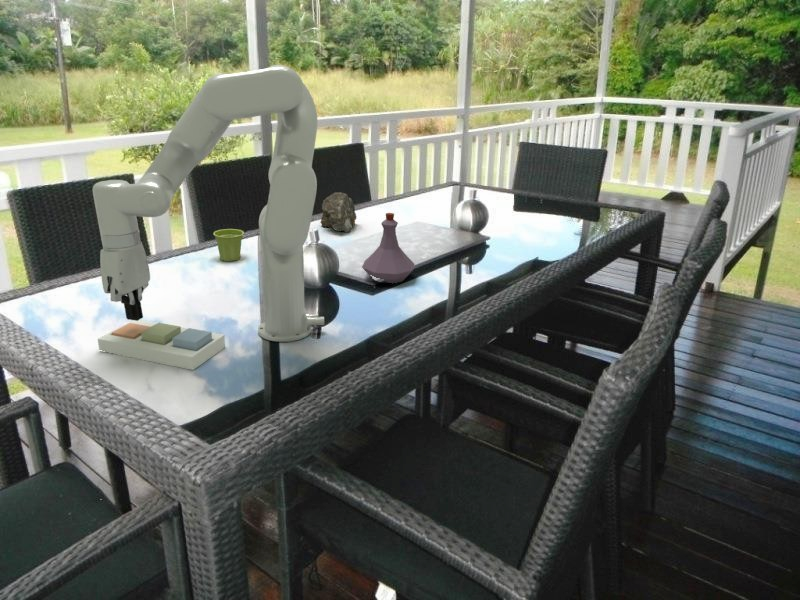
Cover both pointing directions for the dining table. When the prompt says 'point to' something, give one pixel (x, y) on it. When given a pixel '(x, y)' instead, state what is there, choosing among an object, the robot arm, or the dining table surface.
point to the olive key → (160, 333)
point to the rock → (338, 212)
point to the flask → (389, 256)
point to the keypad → (160, 349)
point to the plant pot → (229, 243)
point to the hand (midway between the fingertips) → (134, 318)
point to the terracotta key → (130, 331)
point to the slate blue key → (192, 339)
